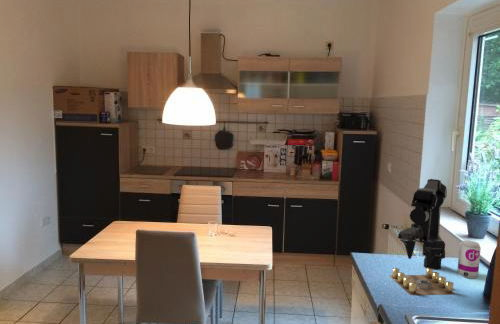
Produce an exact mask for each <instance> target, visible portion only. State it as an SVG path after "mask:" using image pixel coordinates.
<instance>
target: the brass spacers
mask: <svg viewBox="0 0 500 324" xmlns="http://www.w3.org/2000/svg"><path fill="white" fill-rule="evenodd" d="M425 269H426V270H425V275H426V278H428V279H432V282H433V283H439V285H438V287H439V288H445V287H446V289H445V292H446V293H449V294H452V293H454V282H452V281H447V277H445V276H440V272H438V271H434V270H433V269H432V268H425ZM391 273H392V274H391V275H392V278H393V279H398V280H397V283H399V284H403V288H405V289H409V293H410V294H416V285H417V283H415V282H410V278H409V277H404V275H406V274H405V273H404V272H402V271H400V269H399V268H397V267H392V272H391ZM392 278H391V279H392ZM393 279H392V280H393ZM397 283H396V284H397ZM399 284H398V285H399ZM403 288H402V289H403ZM409 293H408V294H409ZM410 294H409V295H410Z"/></svg>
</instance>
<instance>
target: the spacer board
mask: <svg viewBox="0 0 500 324" xmlns="http://www.w3.org/2000/svg"><path fill="white" fill-rule="evenodd" d="M388 277H390V278H391V279H392V280H393V281H394V282H395V283H396V284H397V285H399V286H400V287H401V288H402V289H403V290H404V291H405V292H406V293H407V294H409V295H410V296H440V295H441V296H443V295H446V296H449V295H452V296H454V295H457V294H456V293H454V292H453V293H452V294H449V293H446V292H445V289H446V286H445V288H439V287H438V285H439V283H433V282H432V279H428V278H426V274H405V275H404V277H409V278H410V282H415V283H416V281H417V280H420V279H421V280H427V281H429V282H430V283H432V285H431V289H428V290H425V289H420V288H418V287H417V286H416V294H410V293H409V289H405V288H403V284H399V283H397V280H398V279H393V278H392V274H390V275H388Z"/></svg>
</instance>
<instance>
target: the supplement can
mask: <svg viewBox="0 0 500 324" xmlns="http://www.w3.org/2000/svg"><path fill="white" fill-rule="evenodd" d="M458 250H459V251H458V261H457V274H459V275H460V276H461V277H463V278H467V279H476V278H478V276H479V270H480V260H481V259H480V258H481V246H480V244H479V243H478V242H476V241H473V240H467V239H466V240H462V241H461V242H460V243H459V249H458Z"/></svg>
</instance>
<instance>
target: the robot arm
mask: <svg viewBox="0 0 500 324" xmlns="http://www.w3.org/2000/svg"><path fill="white" fill-rule="evenodd" d="M447 196H448V190H447V186H446V185H445V184H443V183H442V180H440V179H437V178H436V179H435V178H430V179H427V183H426V184H424V186H423V188H422V187H421V188H418V189H416V191H414V193H413V197H412V201H411V205H410V206H411V207H414V209H412V210H411V211H410V213H409V219H410V221H411V222H412V223H411V225H410V227H409V228H406V229H404V230H401V231H399V233H398V235H397V239H399V240H400V242H402V243H403V245H404V247H405V251H406V254H407V258H408V259H409V260H411V259H412V257H413V253H414V249H415V246H416V243H417V242H419V243H423V245H422V256H424V258H423V267H424V268H425V269H426V268H432V269H433V271H436V270H440V269H441V268H442V260H443V259H446V242H445V241H444V240H443V239H442V238H441V236H440V231H441V230H440V228H441V227H440V226H441V211H442V210H441V207H442V205H443V203H444V202H445V200H446V199H447Z"/></svg>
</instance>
